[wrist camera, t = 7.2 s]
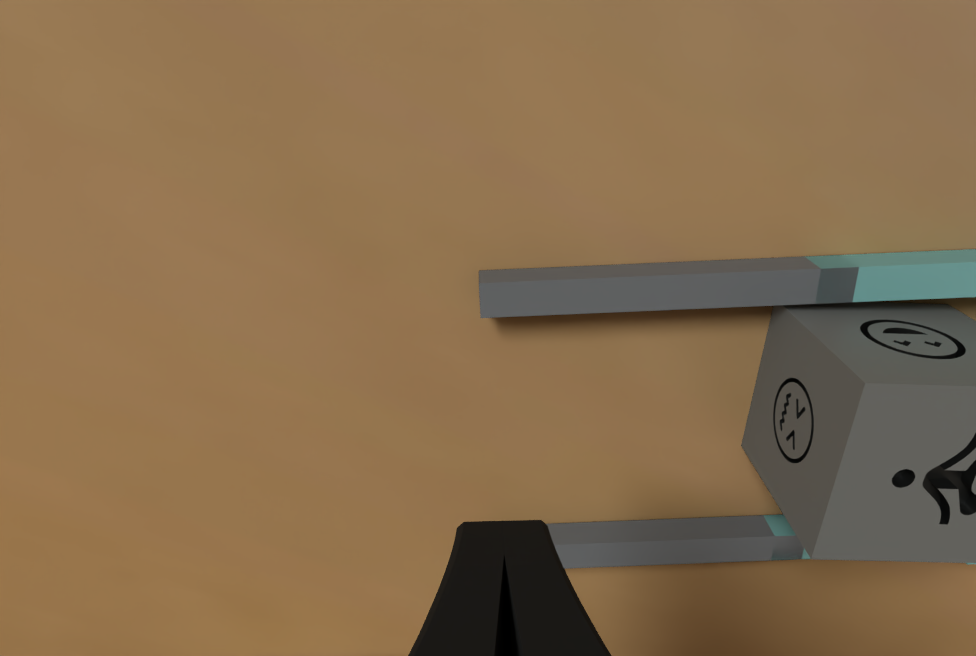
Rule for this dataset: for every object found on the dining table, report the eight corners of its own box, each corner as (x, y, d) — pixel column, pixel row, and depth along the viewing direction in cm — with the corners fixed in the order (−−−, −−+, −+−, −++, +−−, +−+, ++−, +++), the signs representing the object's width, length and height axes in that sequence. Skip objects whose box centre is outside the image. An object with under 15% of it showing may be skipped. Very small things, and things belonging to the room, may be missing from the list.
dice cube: (896, 448, 21) (1007, 563, 17) (740, 444, 21) (810, 559, 17) (946, 303, 19) (1088, 389, 15) (774, 297, 19) (864, 383, 15)
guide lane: (967, 530, 23) (998, 562, 21) (493, 549, 23) (493, 582, 21) (1059, 245, 19) (1105, 263, 17) (478, 270, 19) (479, 290, 17)
